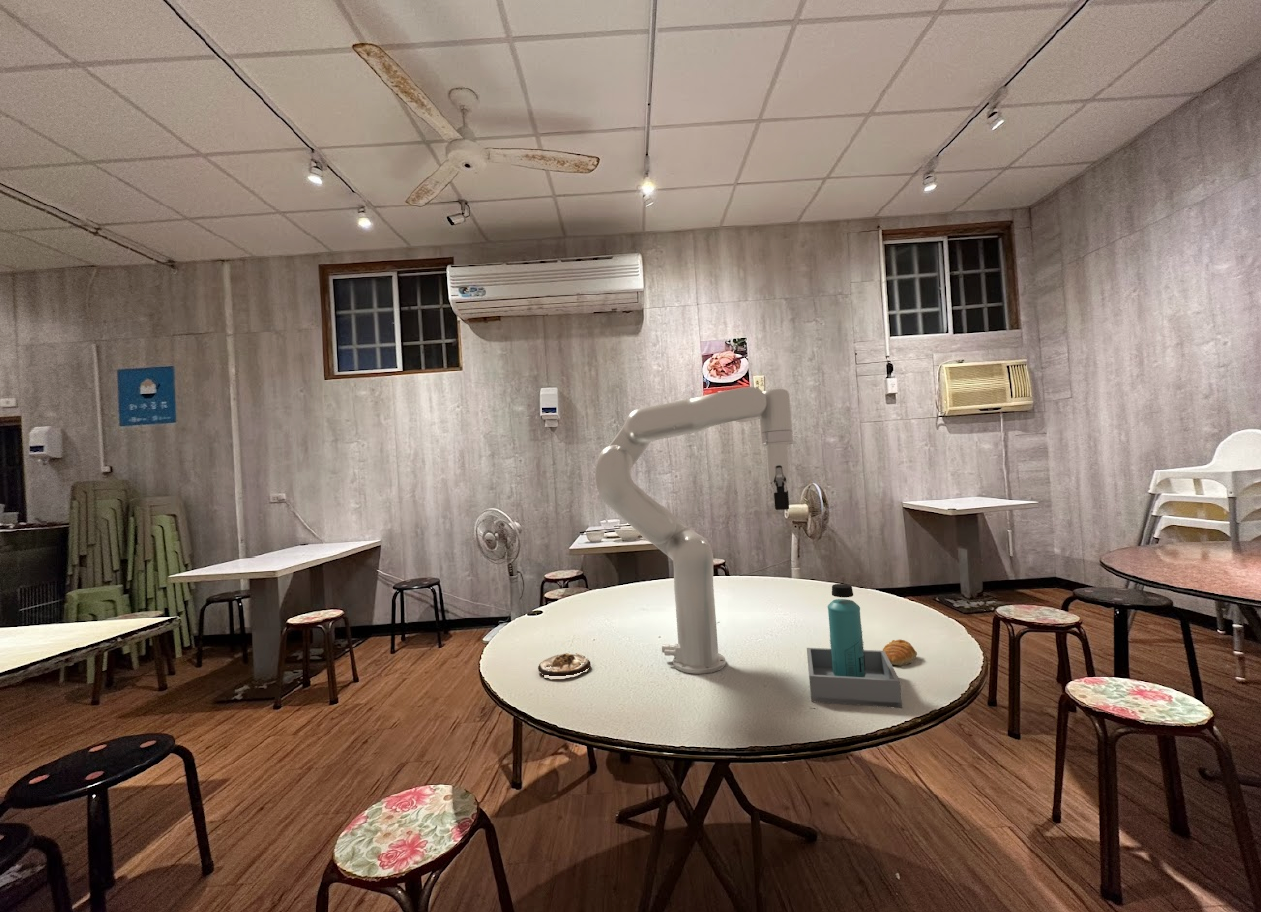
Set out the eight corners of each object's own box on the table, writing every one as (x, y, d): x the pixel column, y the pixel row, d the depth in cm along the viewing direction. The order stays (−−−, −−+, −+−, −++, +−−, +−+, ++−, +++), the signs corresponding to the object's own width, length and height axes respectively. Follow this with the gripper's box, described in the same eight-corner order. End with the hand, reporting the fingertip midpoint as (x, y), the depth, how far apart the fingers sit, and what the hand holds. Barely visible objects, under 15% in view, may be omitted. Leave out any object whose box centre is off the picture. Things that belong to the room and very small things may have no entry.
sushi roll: (549, 690, 111) (547, 671, 112) (525, 671, 124) (524, 654, 124) (605, 672, 119) (604, 655, 120) (578, 656, 132) (577, 640, 132)
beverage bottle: (864, 691, 98) (857, 589, 98) (829, 685, 101) (822, 587, 102) (868, 678, 103) (861, 582, 104) (835, 673, 107) (828, 580, 107)
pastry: (908, 670, 109) (907, 653, 109) (875, 664, 113) (874, 647, 113) (918, 657, 116) (916, 640, 116) (887, 652, 120) (885, 636, 120)
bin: (811, 701, 97) (809, 676, 97) (808, 669, 112) (806, 647, 112) (902, 708, 92) (900, 681, 92) (886, 674, 107) (884, 650, 107)
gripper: (763, 442, 132) (768, 506, 132) (759, 438, 116) (765, 511, 115) (792, 439, 130) (797, 504, 129) (793, 435, 114) (799, 510, 113)
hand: (782, 507), depth 122 cm, fingers open, 9 cm apart
